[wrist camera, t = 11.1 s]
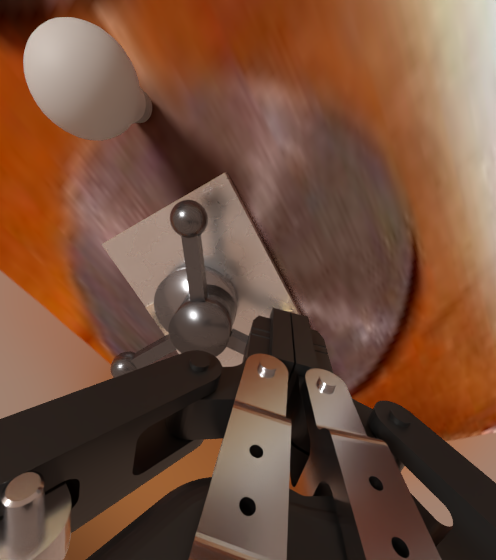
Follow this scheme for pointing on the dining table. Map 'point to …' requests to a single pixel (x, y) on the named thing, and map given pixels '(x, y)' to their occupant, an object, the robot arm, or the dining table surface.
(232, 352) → the stand
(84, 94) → the lightbulb
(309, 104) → the dining table surface
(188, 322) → the silver lever
